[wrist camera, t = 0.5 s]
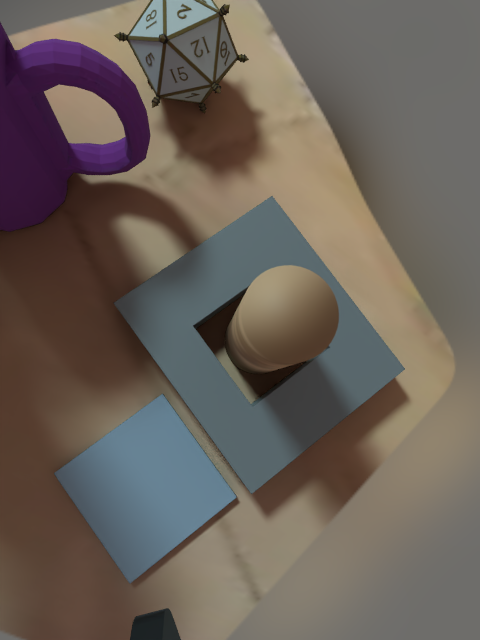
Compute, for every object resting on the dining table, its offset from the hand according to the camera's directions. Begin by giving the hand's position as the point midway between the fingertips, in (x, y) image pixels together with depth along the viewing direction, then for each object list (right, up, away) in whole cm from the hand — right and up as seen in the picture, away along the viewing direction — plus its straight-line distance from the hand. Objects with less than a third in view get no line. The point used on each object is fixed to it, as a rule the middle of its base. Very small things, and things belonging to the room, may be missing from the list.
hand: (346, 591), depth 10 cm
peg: (-1, +5, +24) cm, 25 cm away
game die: (-7, +26, +27) cm, 38 cm away
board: (-1, +5, +24) cm, 25 cm away
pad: (-9, -5, +22) cm, 24 cm away
